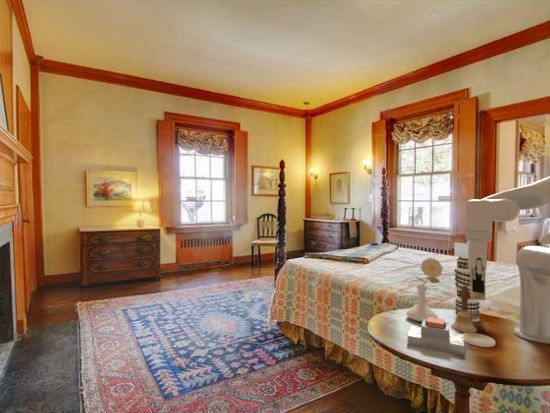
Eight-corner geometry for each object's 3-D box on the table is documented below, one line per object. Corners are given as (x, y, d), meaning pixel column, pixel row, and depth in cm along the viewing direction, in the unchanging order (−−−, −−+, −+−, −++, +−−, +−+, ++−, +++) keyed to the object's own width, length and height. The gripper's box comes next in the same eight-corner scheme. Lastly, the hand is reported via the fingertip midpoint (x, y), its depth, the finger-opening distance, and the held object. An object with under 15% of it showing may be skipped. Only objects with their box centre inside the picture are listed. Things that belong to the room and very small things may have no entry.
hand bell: (477, 327, 122) (477, 285, 122) (476, 334, 115) (477, 289, 115) (451, 322, 126) (452, 282, 126) (450, 329, 119) (450, 286, 119)
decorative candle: (474, 324, 125) (475, 259, 125) (449, 317, 133) (450, 256, 132) (484, 319, 131) (485, 257, 130) (460, 312, 138) (461, 254, 138)
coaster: (486, 335, 114) (486, 333, 114) (501, 348, 104) (501, 345, 104) (455, 333, 116) (455, 331, 116) (468, 346, 106) (468, 343, 106)
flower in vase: (404, 321, 127) (405, 258, 127) (407, 313, 138) (408, 254, 137) (442, 327, 121) (442, 260, 121) (442, 318, 131) (443, 256, 131)
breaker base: (462, 343, 108) (463, 323, 108) (463, 355, 99) (464, 334, 99) (410, 333, 115) (411, 315, 115) (407, 344, 107) (407, 324, 107)
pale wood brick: (484, 297, 110) (484, 268, 110) (485, 300, 107) (485, 270, 107) (470, 295, 112) (470, 266, 112) (470, 298, 109) (471, 268, 109)
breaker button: (444, 332, 108) (444, 319, 108) (443, 337, 104) (443, 324, 104) (427, 329, 111) (427, 316, 110) (426, 334, 106) (426, 321, 106)
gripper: (464, 233, 119) (464, 283, 119) (466, 237, 104) (465, 294, 104) (489, 234, 115) (488, 286, 115) (494, 239, 100) (493, 298, 101)
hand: (477, 289), depth 110 cm, fingers closed on pale wood brick, 4 cm apart
